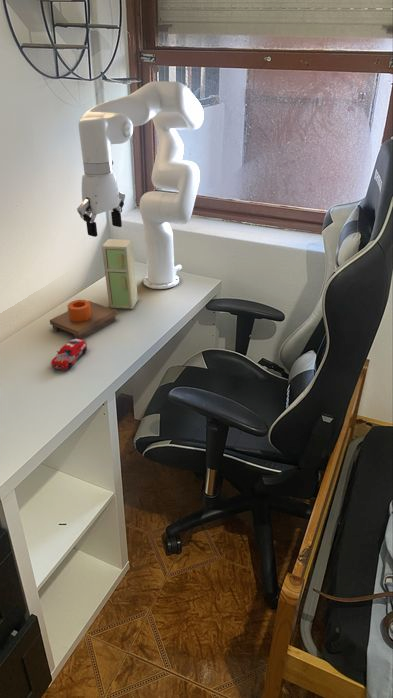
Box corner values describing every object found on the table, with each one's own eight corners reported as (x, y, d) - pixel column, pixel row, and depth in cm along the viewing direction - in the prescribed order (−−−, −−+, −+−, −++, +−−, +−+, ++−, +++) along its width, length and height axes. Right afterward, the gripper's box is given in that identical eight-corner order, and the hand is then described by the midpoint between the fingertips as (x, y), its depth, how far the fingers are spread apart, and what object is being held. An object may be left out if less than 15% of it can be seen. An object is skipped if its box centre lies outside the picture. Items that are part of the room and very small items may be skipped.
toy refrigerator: (107, 308, 169) (100, 246, 158) (114, 299, 175) (108, 238, 164) (131, 310, 167) (126, 247, 157) (138, 300, 174) (133, 239, 163)
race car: (66, 374, 137) (63, 361, 135) (48, 370, 138) (45, 357, 136) (91, 349, 147) (89, 336, 145) (74, 346, 149) (72, 333, 147)
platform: (90, 310, 168) (88, 300, 166) (117, 320, 162) (116, 310, 160) (51, 330, 157) (49, 320, 155) (79, 341, 151) (77, 331, 149)
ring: (81, 309, 161) (79, 297, 159) (96, 315, 157) (94, 303, 155) (65, 317, 156) (63, 305, 154) (80, 323, 153) (78, 311, 151)
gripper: (110, 160, 147) (116, 220, 156) (63, 172, 135) (73, 237, 144) (130, 163, 143) (135, 225, 152) (84, 176, 131) (92, 242, 140)
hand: (105, 230), depth 148 cm, fingers open, 9 cm apart
